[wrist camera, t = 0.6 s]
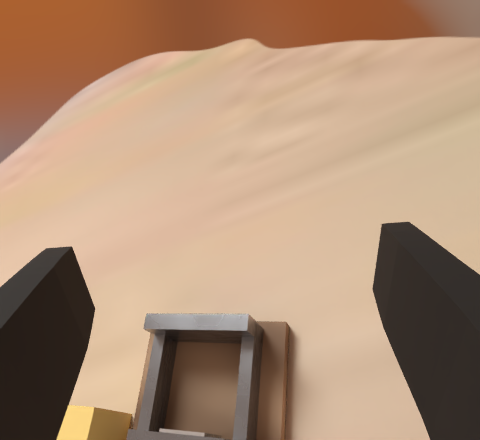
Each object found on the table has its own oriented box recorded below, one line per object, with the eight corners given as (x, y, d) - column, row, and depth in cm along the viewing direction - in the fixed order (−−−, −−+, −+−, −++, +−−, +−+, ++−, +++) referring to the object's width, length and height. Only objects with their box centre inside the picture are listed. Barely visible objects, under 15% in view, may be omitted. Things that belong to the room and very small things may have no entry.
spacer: (122, 463, 29) (81, 463, 25) (70, 456, 30) (23, 455, 26) (132, 414, 30) (94, 407, 26) (81, 409, 31) (39, 402, 28)
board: (277, 606, 23) (273, 611, 22) (114, 570, 26) (105, 573, 25) (289, 325, 29) (286, 321, 29) (159, 324, 33) (152, 320, 32)
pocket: (255, 442, 26) (237, 440, 23) (152, 432, 28) (123, 428, 25) (263, 329, 29) (248, 314, 26) (169, 327, 31) (146, 313, 28)
